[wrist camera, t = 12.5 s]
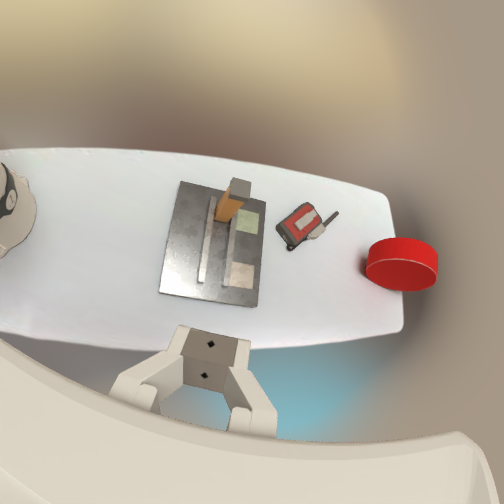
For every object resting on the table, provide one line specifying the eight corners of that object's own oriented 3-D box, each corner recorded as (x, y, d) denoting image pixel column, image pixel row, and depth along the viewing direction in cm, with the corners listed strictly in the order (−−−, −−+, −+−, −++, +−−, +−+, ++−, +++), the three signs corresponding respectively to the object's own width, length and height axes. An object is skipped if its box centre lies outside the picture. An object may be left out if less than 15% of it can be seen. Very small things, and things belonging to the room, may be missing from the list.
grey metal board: (159, 292, 53) (159, 290, 49) (179, 185, 60) (182, 176, 56) (253, 307, 59) (261, 306, 55) (262, 205, 66) (269, 198, 63)
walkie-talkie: (292, 259, 66) (337, 217, 75) (302, 255, 62) (347, 211, 71) (269, 229, 66) (318, 191, 74) (277, 223, 62) (327, 184, 70)
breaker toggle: (212, 220, 58) (230, 194, 47) (214, 205, 59) (233, 177, 48) (228, 223, 59) (249, 198, 48) (230, 209, 60) (251, 182, 49)
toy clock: (398, 277, 78) (450, 263, 60) (396, 295, 76) (449, 283, 58) (354, 250, 73) (409, 228, 55) (350, 270, 71) (407, 251, 53)
